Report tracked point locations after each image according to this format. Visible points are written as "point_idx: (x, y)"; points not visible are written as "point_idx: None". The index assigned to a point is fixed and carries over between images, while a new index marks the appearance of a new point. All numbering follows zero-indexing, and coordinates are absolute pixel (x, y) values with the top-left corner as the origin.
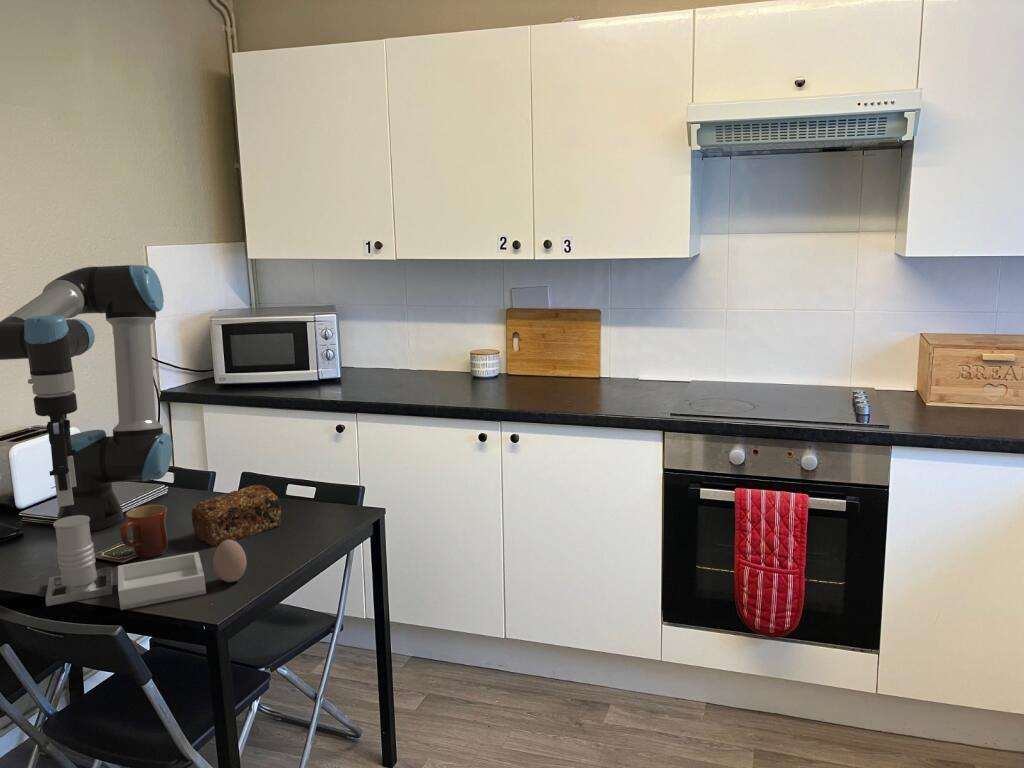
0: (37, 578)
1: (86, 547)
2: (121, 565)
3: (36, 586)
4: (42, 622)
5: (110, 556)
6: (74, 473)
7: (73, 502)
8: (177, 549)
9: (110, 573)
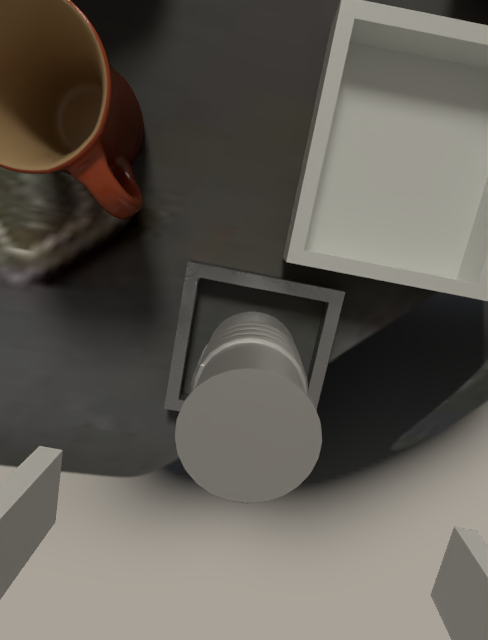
0: (109, 419)
1: (295, 364)
2: (290, 252)
3: (162, 428)
4: (394, 445)
5: (54, 239)
6: (10, 509)
7: (464, 533)
8: (112, 46)
9: (240, 274)
